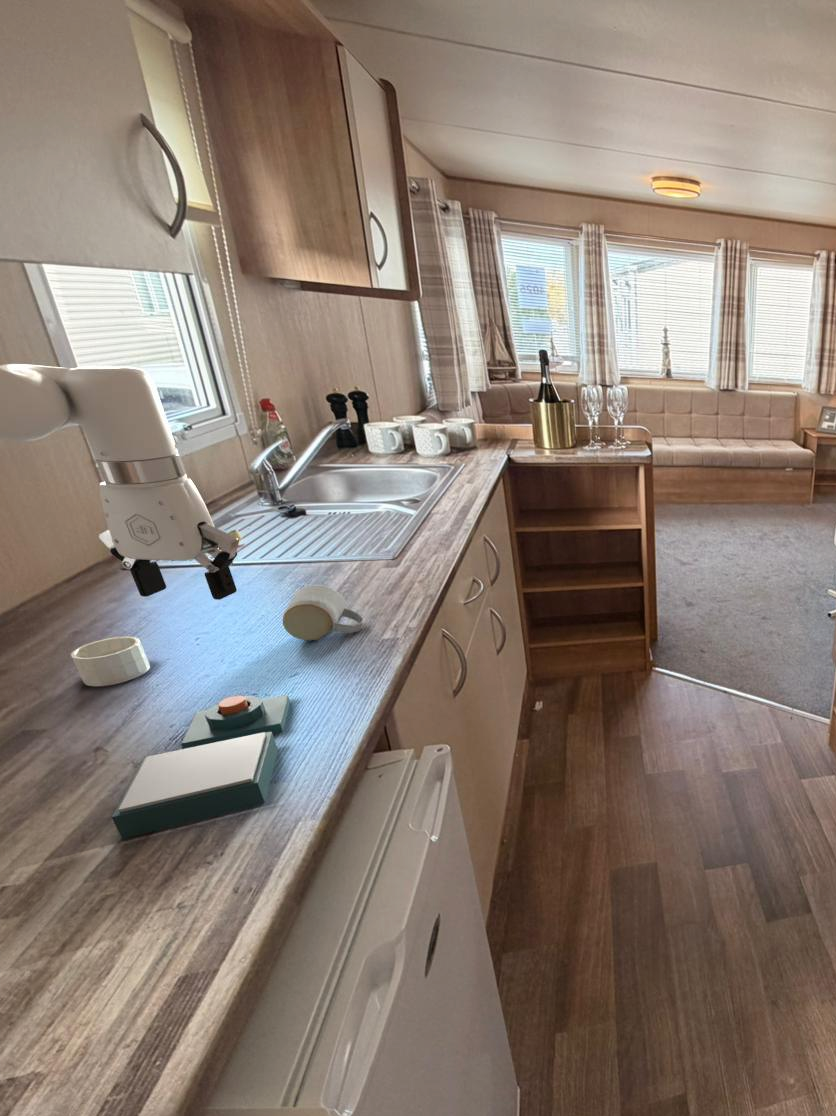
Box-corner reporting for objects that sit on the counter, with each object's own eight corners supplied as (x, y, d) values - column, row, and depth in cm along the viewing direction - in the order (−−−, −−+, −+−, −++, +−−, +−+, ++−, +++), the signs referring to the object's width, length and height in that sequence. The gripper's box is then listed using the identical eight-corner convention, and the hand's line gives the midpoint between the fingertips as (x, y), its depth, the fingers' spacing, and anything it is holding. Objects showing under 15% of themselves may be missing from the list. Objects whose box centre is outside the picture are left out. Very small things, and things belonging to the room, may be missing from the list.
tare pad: (184, 753, 80) (176, 733, 79) (199, 720, 87) (192, 701, 85) (283, 732, 85) (276, 713, 84) (290, 702, 91) (284, 684, 90)
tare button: (219, 717, 83) (215, 709, 82) (223, 707, 85) (220, 698, 85) (246, 712, 84) (243, 703, 84) (250, 702, 87) (247, 693, 86)
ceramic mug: (285, 646, 106) (273, 604, 103) (299, 625, 113) (288, 585, 110) (360, 638, 110) (351, 597, 107) (369, 619, 117) (360, 580, 114)
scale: (121, 839, 67) (109, 814, 66) (152, 778, 76) (142, 755, 74) (265, 803, 73) (256, 779, 72) (278, 750, 82) (270, 728, 80)
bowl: (75, 690, 92) (62, 663, 90) (93, 668, 97) (81, 642, 95) (142, 679, 95) (130, 652, 93) (156, 659, 100) (145, 633, 99)
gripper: (41, 473, 77) (98, 602, 84) (186, 480, 77) (230, 608, 84) (104, 461, 84) (152, 581, 91) (236, 467, 84) (274, 586, 91)
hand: (190, 594), depth 87 cm, fingers open, 9 cm apart
